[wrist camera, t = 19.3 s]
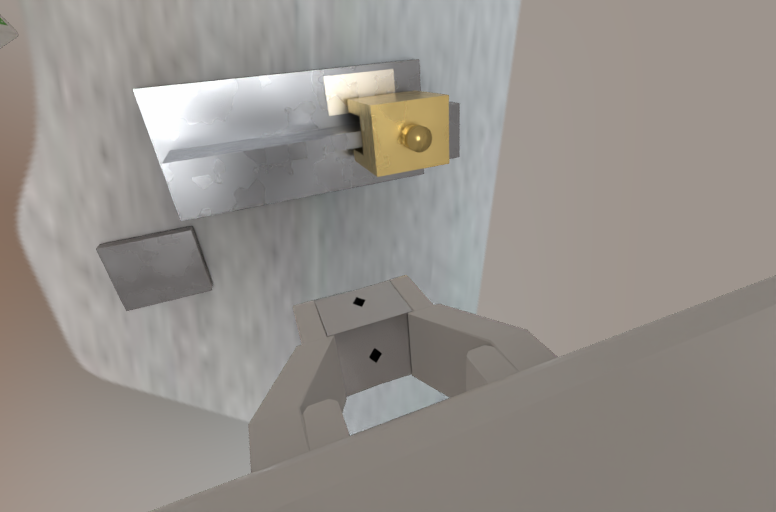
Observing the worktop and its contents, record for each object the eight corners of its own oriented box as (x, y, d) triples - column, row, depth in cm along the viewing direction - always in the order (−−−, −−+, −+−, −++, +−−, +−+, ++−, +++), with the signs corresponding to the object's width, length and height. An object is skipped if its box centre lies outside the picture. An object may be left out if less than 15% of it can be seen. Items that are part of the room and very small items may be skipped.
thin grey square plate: (212, 284, 36) (212, 290, 35) (128, 305, 34) (126, 311, 33) (191, 225, 33) (191, 230, 33) (99, 244, 31) (96, 249, 31)
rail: (418, 171, 39) (459, 193, 32) (181, 216, 33) (170, 255, 26) (413, 59, 34) (459, 58, 27) (136, 88, 28) (107, 95, 21)
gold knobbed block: (417, 149, 35) (458, 167, 29) (354, 160, 34) (383, 181, 28) (414, 90, 33) (458, 96, 27) (347, 99, 31) (377, 107, 25)
